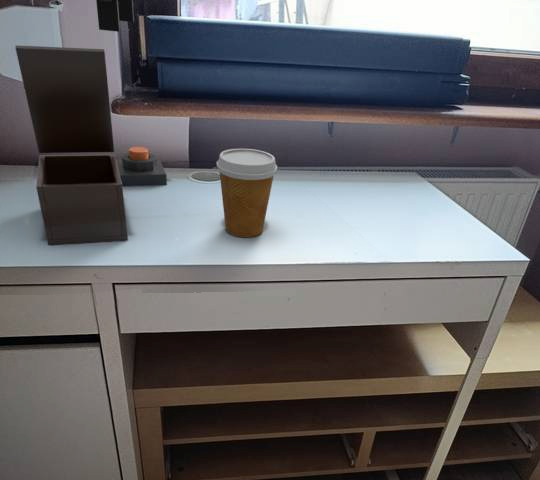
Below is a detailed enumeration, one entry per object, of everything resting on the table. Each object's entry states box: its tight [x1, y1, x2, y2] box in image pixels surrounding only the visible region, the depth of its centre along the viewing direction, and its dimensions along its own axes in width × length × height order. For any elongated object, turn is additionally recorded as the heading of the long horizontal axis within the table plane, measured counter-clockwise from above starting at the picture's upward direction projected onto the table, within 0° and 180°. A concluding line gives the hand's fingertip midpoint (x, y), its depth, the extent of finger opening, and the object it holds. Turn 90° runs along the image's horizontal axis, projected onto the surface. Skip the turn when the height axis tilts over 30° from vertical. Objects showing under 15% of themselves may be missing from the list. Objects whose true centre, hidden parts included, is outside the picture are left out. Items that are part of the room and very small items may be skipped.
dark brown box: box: [35, 153, 129, 246], centre depth 80 cm, size 15×12×9 cm
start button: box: [128, 146, 149, 160], centre depth 99 cm, size 4×4×2 cm
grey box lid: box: [14, 45, 115, 154], centre depth 76 cm, size 15×12×1 cm
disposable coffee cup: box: [216, 148, 278, 238], centre depth 81 cm, size 10×10×12 cm
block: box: [116, 152, 168, 187], centre depth 100 cm, size 10×9×4 cm
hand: (117, 25), depth 75 cm, fingers open, 13 cm apart
